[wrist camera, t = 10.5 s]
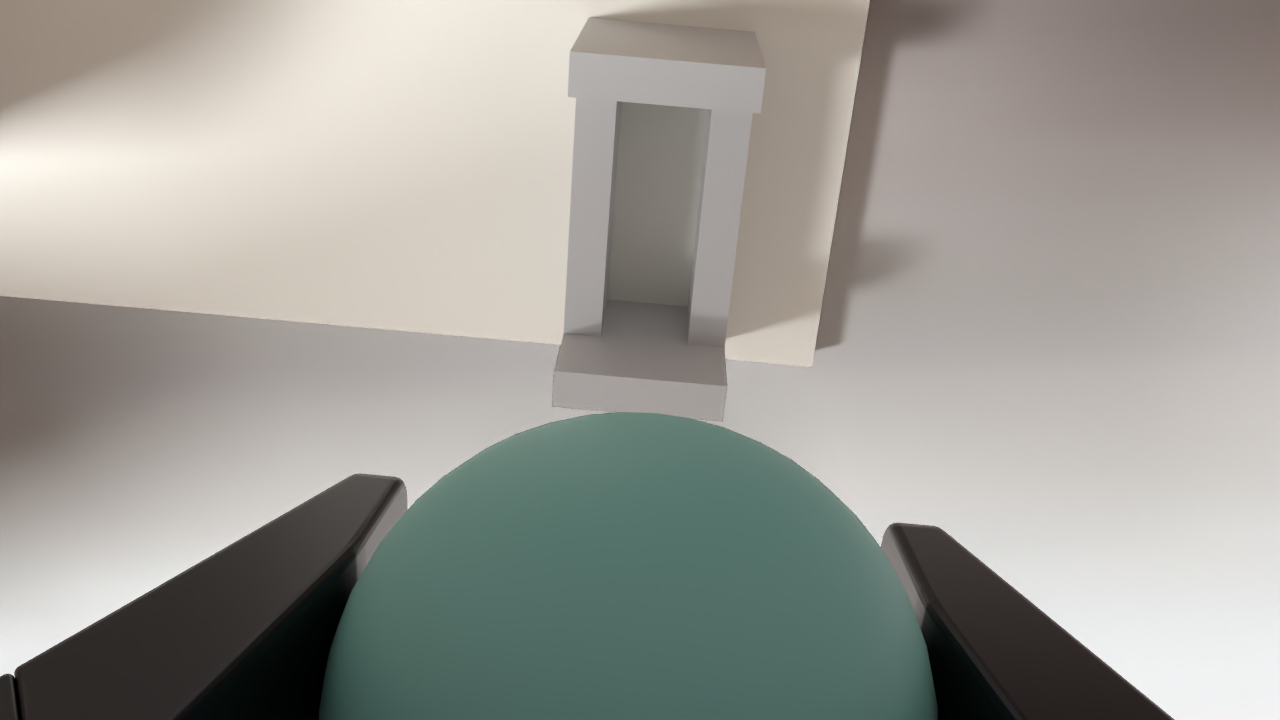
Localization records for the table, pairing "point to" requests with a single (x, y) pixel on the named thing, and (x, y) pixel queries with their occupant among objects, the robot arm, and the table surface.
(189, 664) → the robot arm
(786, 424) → the table surface
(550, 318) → the board
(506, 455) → the teal ball
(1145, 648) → the table surface
